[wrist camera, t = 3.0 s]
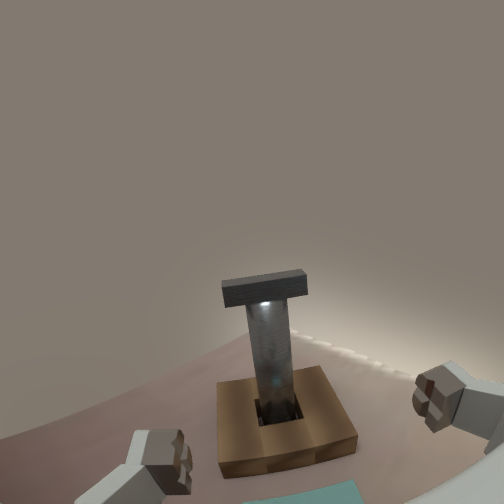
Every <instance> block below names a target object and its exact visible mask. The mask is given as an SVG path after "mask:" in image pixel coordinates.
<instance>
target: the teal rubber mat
mask: <svg viewBox="0 0 504 504" xmlns="http://www.w3.org/2000/svg"><path fill="white" fill-rule="evenodd" d="M242 504H364V502H363V500H362V498H361V496H360V493H359V491H358V489H357V487H356V485H355V483H354V480H353V479H352V480H349V481H345V482H342V483H339V484H335V485H332V486H328V487H324V488H320V489H316V490H312V491H308V492H304V493H299V494H294V495H289V496H284V497H278V498H272V499H266V500H259V501H251V502H242Z"/></svg>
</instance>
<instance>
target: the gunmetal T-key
mask: <svg viewBox="0 0 504 504" xmlns="http://www.w3.org/2000/svg"><path fill="white" fill-rule="evenodd" d="M222 292H223V298H224V304H225V308H227V307H234V306H241V305H245V306H246V313H247V320H248V327H249V334H250V341H251V348H252V354H253V361H254V368H255V374H256V381H257V388H258V394H259V401H260V407H261V414H262V420H263V426H267V425H273V424H279V423H284V422H289V421H294V420H296V414H295V398H294V382H293V368H292V354H291V341H290V329H289V317H288V306H287V298H292V297H298V296H303V295H308V288H307V275H306V273H305V272H304V271H303V270H302V269H297V270H291V271H284V272H277V273H271V274H264V275H257V276H251V277H244V278H237V279H231V280H223V281H222Z"/></svg>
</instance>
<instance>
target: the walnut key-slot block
mask: <svg viewBox="0 0 504 504" xmlns="http://www.w3.org/2000/svg"><path fill="white" fill-rule="evenodd" d="M293 382H294V398H295V410H296V412H297V415H298V418H299V420H294V421H289V422H284V423H279V424H273V425H267V426H261V427H259V423H258V418H257V417H261V416H262V414H261V407H260V401H259V394H258V388H257V381H256V377H255V378H249V379H242V380H234V381H227V382H219V383H217V441H218V464H219V466H220V469H221V472H222V474H223V477H224V479H227V478H237V477H246V476H254V475H261V474H267V473H274V472H279V471H285V470H290V469H295V468H299V467H304V466H308V465H313V464H317V463H321V462H325V461H328V460H332V459H336V458H339V457H343V456H346V455H349V454H353V453H355V451H356V445H357V439H358V433H357V432H356V430H355V428H354V426H353V424H352V423H351V421H350V419H349V417H348V415H347V414H346V412H345V410H344V408H343V406H342V405H341V403H340V401H339V399H338V397H337V396H336V394H335V392H334V390H333V388H332V387H331V385H330V383H329V381H328V379H327V378H326V376H325V374H324V372H323V370H322V369H321V367H320V365H319V366H314V367H309V368H305V369H300V370H295V371H293Z"/></svg>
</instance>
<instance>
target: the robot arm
mask: <svg viewBox="0 0 504 504" xmlns="http://www.w3.org/2000/svg"><path fill="white" fill-rule="evenodd" d="M415 384H416V385H417V389H416V390H415V391H414V393H413V398H412V402H413V407H414V409H415V411H416V412H417V414H418V415H419V416H422V417H425V424H426V425H427V426H428V427H429V428H430V430H431V431H432V432H433V433H435V432H437V431H439V430H442V429H443V428H445V427H447V426H449V425H451V424H452V426H454V427H457V428H459V429H462V430H464V431H467V432H469V433H472V434H474V435H477V436H479V437H482V438H485V439H487V440H489V442H488V444H487V446H486V448H485V450H484V453H485V454H486V456H484V457H483V458H482V459H480V460H479V461H477V462H476V463H474V464H473V465H471V466H470V467H468V468H467V469H465V470H464V471H462V472H461V473H459V474H457V475H456V476H454V477H452V478H451V479H449V480H447V481H446V482H444V483H442V484H440V485H439V486H437V487H435V488H433V489H431V490H429V491H427V492H426V493H424V494H422V495H420V496H418V497H416V498H414V499H412V500H409V501H407V502H405V503H403V504H504V383H498V382H493V381H488V380H482V379H479V380H476V379H475V378H473V377H472V376H471V375H470V374H469V373H467V372H466V371H465V370H464V369H463V368H461V367H460V366H458V364H456V363H455V362H454V361H448V362H446V363H444V364H442V365H440V366H437V367H435V368H433V369H431V370H428V371H426V372H424V373H421V374H419V375H418V376H417V378H416V382H415ZM192 464H193V463H192V455H191V451H190V449H189V446H188V445H187V444H185V443H184V435H183V433H182V431H181V430H179V429H174V430H136V431H135V432H134V435H133V438H132V441H131V445H130V448H129V452H128V455H127V459H126V462H125V464H121V465H119V466H118V467H117V468H116V469H115V470H113V471H112V472H111V473H110V474H108V475H107V476H106V477H105V478H103V479H102V480H101V481H100V482H98V483H97V484H96V485H94V486H93V487H92V488H91V489H89V490H88V491H87V492H85V493H84V494H83V495H81V496H80V497H79V498H77V499H76V500H75V503H74V504H161V503H162V501H163V500H164V499H165V498H166V495H191V485H192V479H191V477H190V475H189V473H190V472H191V470H192ZM0 504H2V503H0Z"/></svg>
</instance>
